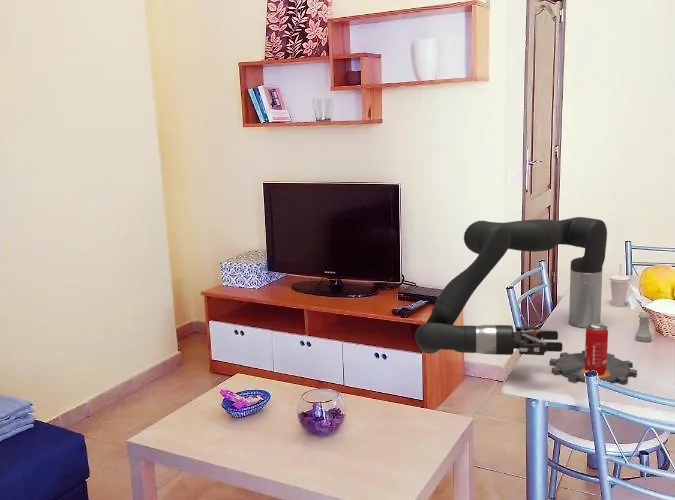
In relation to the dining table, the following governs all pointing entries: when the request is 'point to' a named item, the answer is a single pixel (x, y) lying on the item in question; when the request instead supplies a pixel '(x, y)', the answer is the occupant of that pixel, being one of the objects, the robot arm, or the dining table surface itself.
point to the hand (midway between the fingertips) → (559, 341)
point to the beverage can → (596, 348)
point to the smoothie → (619, 288)
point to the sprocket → (575, 370)
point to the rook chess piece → (644, 328)
